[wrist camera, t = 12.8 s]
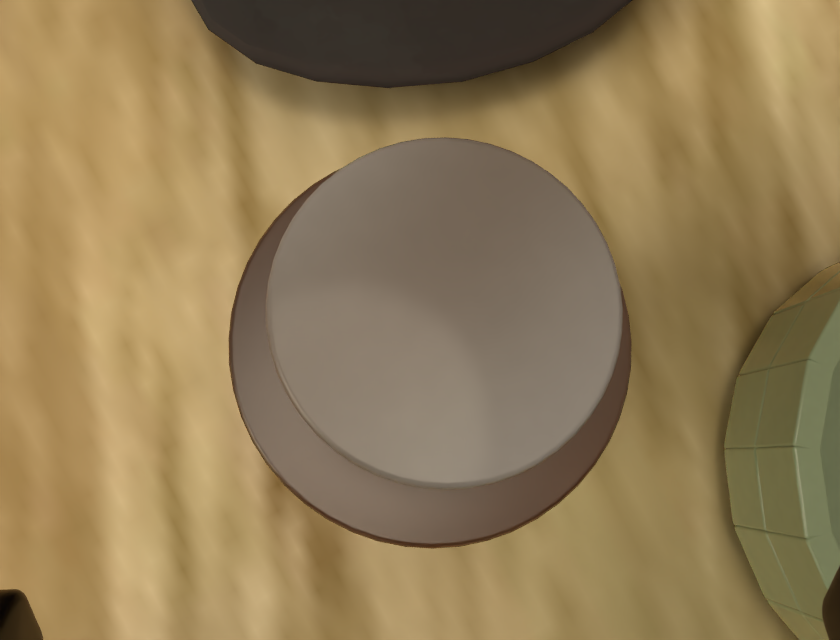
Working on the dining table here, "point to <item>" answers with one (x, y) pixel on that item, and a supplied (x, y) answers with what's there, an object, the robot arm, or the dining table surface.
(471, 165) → the pepper mill
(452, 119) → the dining table surface
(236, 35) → the casserole
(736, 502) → the green round dish
